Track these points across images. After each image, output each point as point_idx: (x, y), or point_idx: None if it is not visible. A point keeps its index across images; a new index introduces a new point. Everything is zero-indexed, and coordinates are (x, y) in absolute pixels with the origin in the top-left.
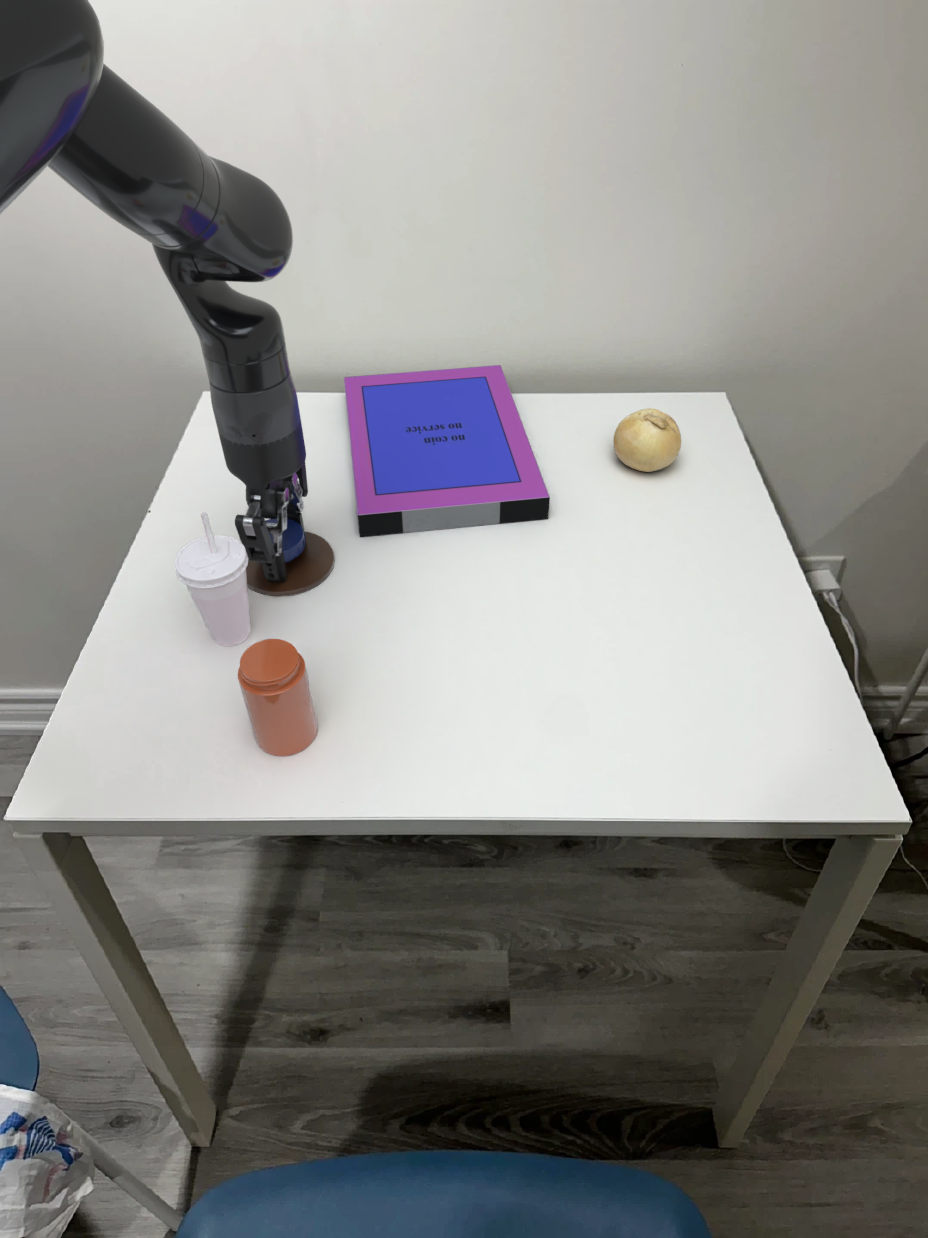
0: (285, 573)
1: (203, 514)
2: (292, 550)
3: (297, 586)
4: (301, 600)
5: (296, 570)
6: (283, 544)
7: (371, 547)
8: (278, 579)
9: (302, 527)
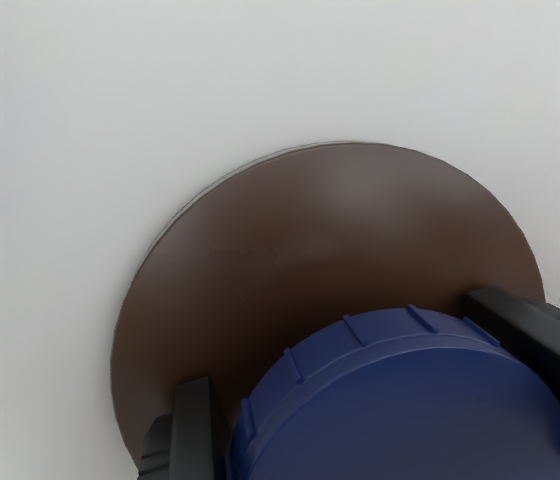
0: (503, 299)
1: None
2: (479, 342)
3: (490, 220)
4: (519, 169)
5: (393, 287)
6: (480, 415)
7: (22, 36)
8: (547, 304)
9: (195, 432)
